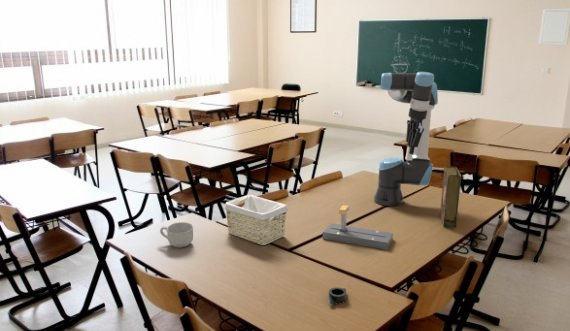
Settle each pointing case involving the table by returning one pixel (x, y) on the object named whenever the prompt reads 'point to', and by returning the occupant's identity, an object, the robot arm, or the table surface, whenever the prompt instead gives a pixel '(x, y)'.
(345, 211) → the fader knob
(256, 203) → the storage basket
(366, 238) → the fader console
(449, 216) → the book
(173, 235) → the teacup
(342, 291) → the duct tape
